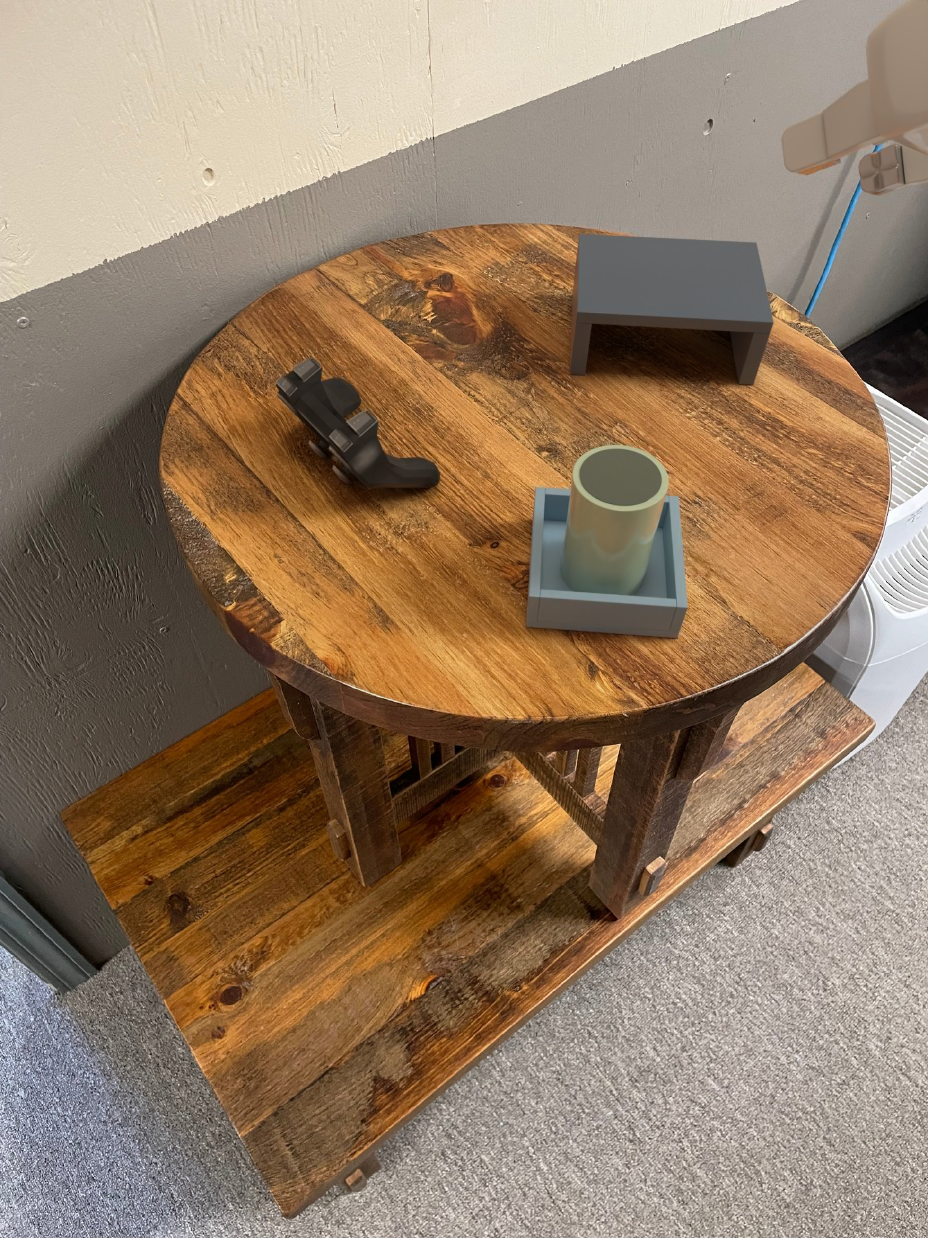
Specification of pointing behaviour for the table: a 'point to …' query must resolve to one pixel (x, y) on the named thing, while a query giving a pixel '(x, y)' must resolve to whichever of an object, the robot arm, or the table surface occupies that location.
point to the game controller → (349, 431)
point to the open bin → (639, 614)
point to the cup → (612, 519)
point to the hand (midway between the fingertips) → (829, 167)
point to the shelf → (671, 292)
